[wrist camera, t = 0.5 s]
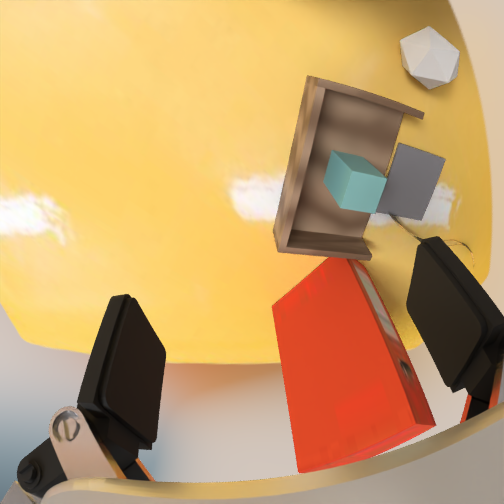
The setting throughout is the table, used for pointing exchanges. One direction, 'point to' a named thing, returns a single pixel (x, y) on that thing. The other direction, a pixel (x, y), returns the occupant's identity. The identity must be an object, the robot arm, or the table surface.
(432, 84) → the die
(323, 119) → the open box
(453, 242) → the curved strip
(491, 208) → the table surface
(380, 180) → the teal block
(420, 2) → the table surface
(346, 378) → the file binder
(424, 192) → the mat
